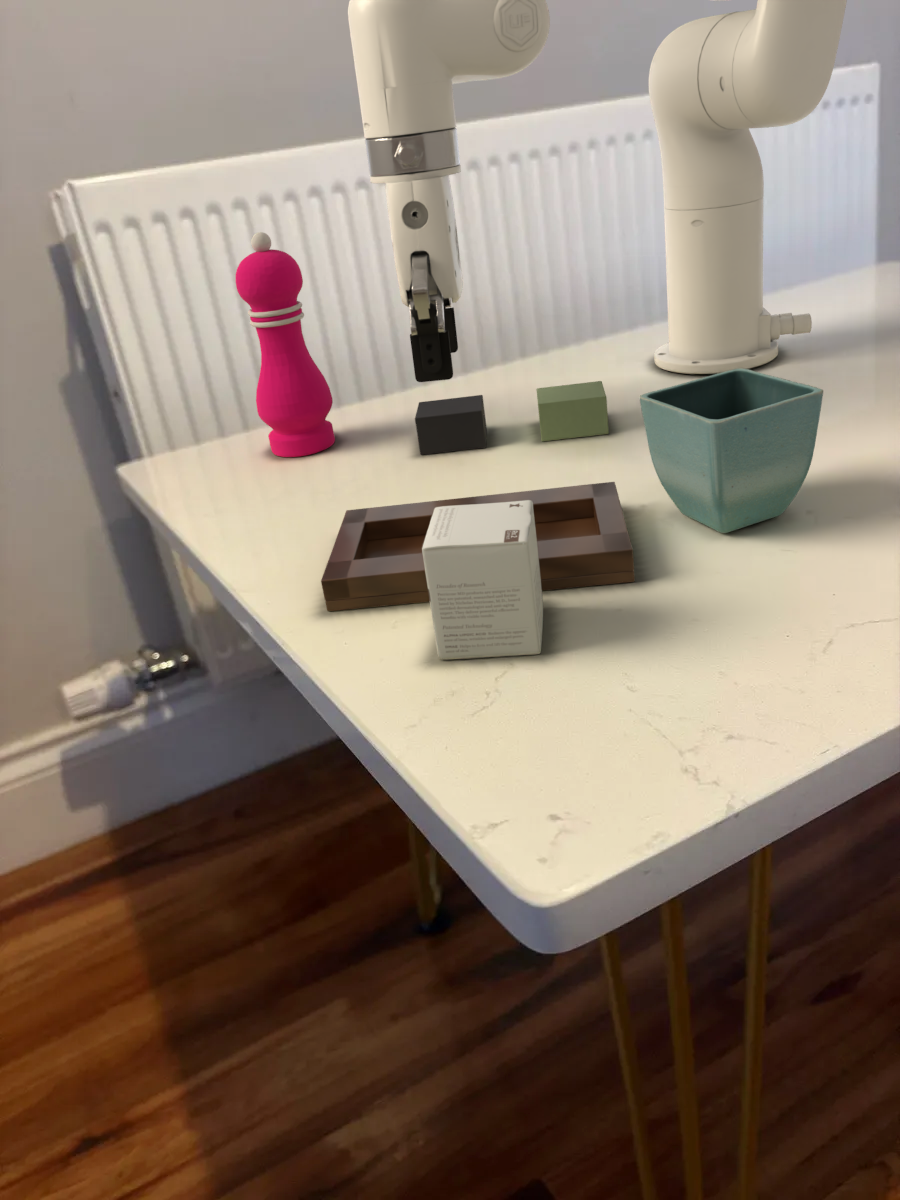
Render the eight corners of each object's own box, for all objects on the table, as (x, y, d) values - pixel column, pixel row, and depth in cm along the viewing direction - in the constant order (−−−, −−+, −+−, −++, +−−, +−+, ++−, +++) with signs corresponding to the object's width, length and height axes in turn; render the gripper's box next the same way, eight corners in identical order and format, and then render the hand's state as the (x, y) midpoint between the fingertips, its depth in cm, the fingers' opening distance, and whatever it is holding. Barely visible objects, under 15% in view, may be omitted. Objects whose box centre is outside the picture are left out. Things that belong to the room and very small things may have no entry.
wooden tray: (616, 510, 76) (614, 481, 75) (634, 582, 65) (633, 549, 64) (351, 537, 78) (346, 509, 77) (327, 612, 67) (320, 580, 66)
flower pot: (641, 513, 75) (635, 393, 71) (741, 483, 77) (741, 365, 73) (715, 553, 67) (712, 422, 63) (823, 518, 70) (827, 389, 66)
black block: (486, 430, 97) (482, 394, 95) (486, 447, 92) (481, 410, 91) (424, 437, 97) (418, 402, 96) (420, 455, 93) (414, 418, 91)
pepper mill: (327, 457, 96) (283, 234, 87) (255, 461, 98) (205, 243, 89) (349, 432, 102) (310, 221, 93) (281, 436, 104) (237, 230, 95)
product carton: (448, 612, 65) (432, 505, 61) (544, 606, 64) (533, 496, 61) (437, 662, 59) (419, 547, 56) (542, 656, 59) (530, 538, 55)
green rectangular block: (604, 417, 96) (601, 380, 94) (608, 434, 91) (606, 395, 90) (539, 424, 96) (536, 388, 95) (541, 441, 92) (537, 403, 90)
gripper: (454, 159, 76) (477, 387, 83) (463, 147, 91) (482, 340, 99) (354, 171, 76) (386, 396, 84) (379, 157, 92) (405, 348, 99)
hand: (438, 365), depth 91 cm, fingers open, 9 cm apart
